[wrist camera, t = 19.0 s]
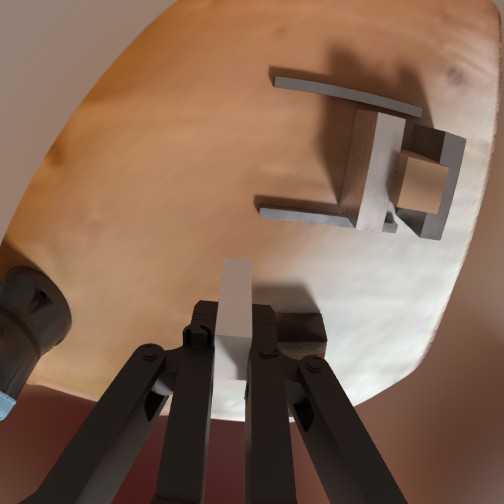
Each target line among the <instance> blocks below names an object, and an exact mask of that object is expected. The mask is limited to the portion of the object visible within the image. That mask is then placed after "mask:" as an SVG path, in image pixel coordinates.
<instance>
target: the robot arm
mask: <svg viewBox="0 0 504 504" xmlns="http://www.w3.org/2000/svg"><path fill="white" fill-rule="evenodd" d="M71 323H72V319H71V313H70V309H69V306H68V304H67V302H66V300H65V298H64V297H63V295H62V294H61V292H60V291H59V289H58V288H57V287H56V286H55V285H54V284H53V283H52V282H51V281H50V280H49V279H48V278H47V277H45V276H44V275H43V274H41V273H40V272H38V271H36V270H34V269H32V268H29V267H23V266H19V267H15V268H13V269H11V270H10V271H9V272H8V273H7V274H6V275H5V276H4V277H3V278H2V279H1V281H0V420H3V419H4V418H5V417H6V416H7V414H8V413H9V411H10V410H11V408H12V407H13V405H15V404H16V400H17V398H18V396H19V394H20V392H21V391H22V389H23V387H24V385H25V383H26V382H27V380H28V378H29V376H30V374H31V373H32V371H33V369H34V367H35V366H36V364H37V362H38V361H39V359H40V358H41V356H42V355H44V354H45V353H47V352H48V351H49V350H50V349H52V348H53V346H56V345H58V344H59V343H61V342H62V341H63V340H64V338H65V337H66V335H67V334H68V332H69V330H70V328H71ZM214 378H219V379H232V380H246V379H247V383H246V390H245V397H244V399H245V504H297V501H296V489H295V478H294V467H293V458H292V446H291V436H290V426H289V416H288V406H287V403H288V405H289V408H290V410H291V413H292V415H293V417H294V420H295V422H296V425H297V427H298V429H299V432H300V434H301V436H302V439H303V441H304V443H305V446H306V448H307V451H308V453H309V455H310V457H311V460H312V462H313V464H314V467H315V469H316V471H317V474H318V476H319V478H320V481H321V483H322V485H323V487H324V490H325V492H326V494H327V497H328V499H329V501H330V503H331V504H408V503H407V501H406V500H405V498H404V496H403V494H402V492H401V491H400V489H399V487H398V485H397V484H396V482H395V480H394V478H393V476H392V474H391V473H390V471H389V469H388V467H387V466H386V464H385V462H384V460H383V458H382V457H381V455H380V453H379V452H378V450H377V448H376V446H375V444H374V443H373V441H372V439H371V437H370V435H369V434H368V432H367V430H366V429H365V427H364V425H363V423H362V421H361V420H360V418H359V416H358V414H357V413H356V411H355V409H354V408H353V406H352V404H351V402H350V400H349V399H348V397H347V395H346V393H345V392H344V390H343V388H342V386H341V385H340V383H339V381H338V379H337V378H336V376H335V374H334V373H333V371H332V369H331V367H330V366H329V364H328V363H327V361H326V360H325V359H323V358H321V357H319V356H316V355H308V356H305V357H303V358H302V359H301V360H297V359H293V358H290V357H288V356H286V355H285V354H283V353H282V352H281V350H280V349H279V346H278V338H277V329H276V320H275V312H274V310H273V309H272V307H271V306H270V305H260V304H252V288H251V259H241V258H230V257H225V260H224V267H223V274H222V282H221V289H220V297H219V302H214V301H203V300H200V301H199V302H198V303H197V304H196V305H195V306H194V311H193V315H192V320H191V324H190V325H188V326H187V327H185V328H184V330H183V345H182V346H181V347H179V348H177V349H173V350H166V351H164V349H163V348H162V347H161V346H159V345H157V344H152V343H150V344H144V345H141V346H139V347H138V348H137V349H136V350H135V351H134V353H133V354H132V356H131V357H130V358H129V360H128V361H127V362H126V364H125V365H124V366H123V368H122V369H121V370H120V372H119V373H118V375H117V376H116V377H115V379H114V380H113V381H112V383H111V384H110V386H109V387H108V388H107V390H106V391H105V393H104V394H103V395H102V397H101V398H100V400H99V401H98V402H97V404H96V405H95V407H94V408H93V410H92V411H91V412H90V414H89V415H88V417H87V418H86V419H85V421H84V422H83V424H82V425H81V427H80V428H79V429H78V431H77V432H76V434H75V435H74V436H73V438H72V439H71V441H70V442H69V444H68V445H67V447H66V448H65V450H64V451H63V452H62V454H61V455H60V457H59V458H58V460H57V461H56V463H55V464H54V466H53V467H52V469H51V470H50V472H49V473H48V475H47V476H46V478H45V479H44V481H43V482H42V484H41V485H40V487H39V488H38V490H37V491H36V492H35V493H33V494H32V495H30V496H29V497H27V498H26V499H24V500H23V501H21V502H20V503H18V504H111V502H112V500H113V498H114V497H115V495H116V493H117V491H118V489H119V487H120V486H121V484H122V482H123V480H124V478H125V476H126V475H127V473H128V471H129V469H130V467H131V465H132V464H133V462H134V460H135V458H136V456H137V454H138V453H139V450H140V449H141V447H142V445H143V443H144V442H145V440H146V438H147V436H148V434H149V432H150V431H151V429H152V427H153V425H154V423H155V421H156V419H157V418H158V416H159V414H160V412H161V410H162V409H163V407H164V405H165V403H166V401H167V400H168V398H169V395H172V394H173V397H172V402H171V407H170V412H169V417H168V423H167V428H166V434H165V440H164V444H163V450H162V456H161V461H160V467H159V473H158V479H157V485H156V491H155V495H154V497H153V498H152V499H151V502H150V504H203V502H204V489H205V476H206V463H207V449H208V439H209V438H208V437H209V427H210V416H211V405H212V394H213V379H214Z"/></svg>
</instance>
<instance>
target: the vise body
mask: <svg viewBox="0 0 504 504" xmlns="http://www.w3.org/2000/svg"><path fill="white" fill-rule="evenodd" d="M274 87H276V88H284V89H291V90H298V91H305V92H311V93H317V94H322V95H328V96H333V97H338V98H343V99H348V100H353V101H357V102H362V103H366V104H370V105H374V106H378V107H382V108H386V109H390V110H394V111H397V112H401V113H405V114H408V115H411V116H415V117H419V118H421V116H422V110H423V108H420V107H416V106H413V105H410V104H407V103H403V102H400V101H396V100H393V99H389V98H385V97H382V96H378V95H374V94H370V93H366V92H362V91H357V90H353V89H348V88H344V87H339V86H334V85H329V84H323V83H318V82H312V81H306V80H300V79H293V78H286V77H279V76H275V81H274ZM465 144H466V139H465V138H462V137H459V136H457V135H454V134H451V133H448V132H445V131H441V130H437V129H434V128H430V127H426V126H422V125H418V124H415V130H414V135H413V141H412V146H411V151H413V152H415V153H417V154H420V155H422V156H424V157H427V158H429V159H431V160H433V161H436V162H438V163H440V164H442V165H444V166H447V167H449V171H448V175H447V179H446V183H445V187H444V191H443V195H442V199H441V202H440V206H439V210H438V213H437V214H433V213H428V212H422V211H417V210H411V209H406V208H400V207H398V209H397V213H396V215H397V216H398V217H399V218H400V219H401V220H402V221H403V222H404V223H405V224H406V225H407V226H408V227H409V228H411V229H412V230H413V231H414V232H415V233H416V234H417V235H418V236H419V237H420V238H426V239H433V240H440V239H441V236H442V233H443V230H444V227H445V224H446V220H447V217H448V214H449V210H450V207H451V203H452V199H453V196H454V192H455V188H456V184H457V180H458V176H459V172H460V167H461V163H462V158H463V154H464V149H465ZM259 218H268V219H278V220H288V221H297V222H306V223H315V224H324V225H333V226H341V227H350V228H354V226H353V225H352V224H351V222H350V221H349V220H348V218H347V217H346V215H345V214H339V213H331V212H323V211H315V210H307V209H298V208H289V207H280V206H270V205H260V208H259ZM397 226H398V224H397V223H396V222H395V221H390V220H384V224H383V228H382V232H389V233H396V229H397Z"/></svg>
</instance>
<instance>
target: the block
mask: <svg viewBox="0 0 504 504" xmlns="http://www.w3.org/2000/svg"><path fill="white" fill-rule="evenodd" d="M448 171H449V167H447V166H444V165H442V164H440V163H438V162H436V161H433V160H431V159H429V158H427V157H424V156H422V155H420V154H417V153H415V152H413V151H410V150H406V149H402V148H401V149H400V155H399V160H398V164H397V169H396V174H395V179H394V183H393V187H392V192H391V196H390V200H389V201H391V202H392V203H393V204H394V205H395V206H396V207H400V208H406V209H411V210H417V211H422V212H428V213H433V214H437V213H438V210H439V206H440V202H441V199H442V195H443V191H444V187H445V183H446V179H447V175H448Z"/></svg>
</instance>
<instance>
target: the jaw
mask: <svg viewBox="0 0 504 504" xmlns="http://www.w3.org/2000/svg"><path fill="white" fill-rule="evenodd" d="M405 121H406V119H403V118H399V117H395V116H391V115H388V114H384V113H380V112H374V111H367V110H361V109H356V111H355V118H354V124H353V131H352V137H351V143H350V149H349V155H348V161H347V166H346V172H345V177H344V182H343V188H342V193H341V198H340V203H339V207H340V209H341V210H342V211H343V213H344V214H345V215H346V217H347V218H348V220H349V221H350V222H351V224H352V225H353V226H354V228H355V229H358V230H366V231H374V232H382V228H383V224H384V220H385V216H386V212H387V208H388V204H389V200H390V196H391V192H392V187H393V183H394V179H395V174H396V169H397V164H398V160H399V155H400V149H401V144H402V139H403V133H404V127H405Z"/></svg>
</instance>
